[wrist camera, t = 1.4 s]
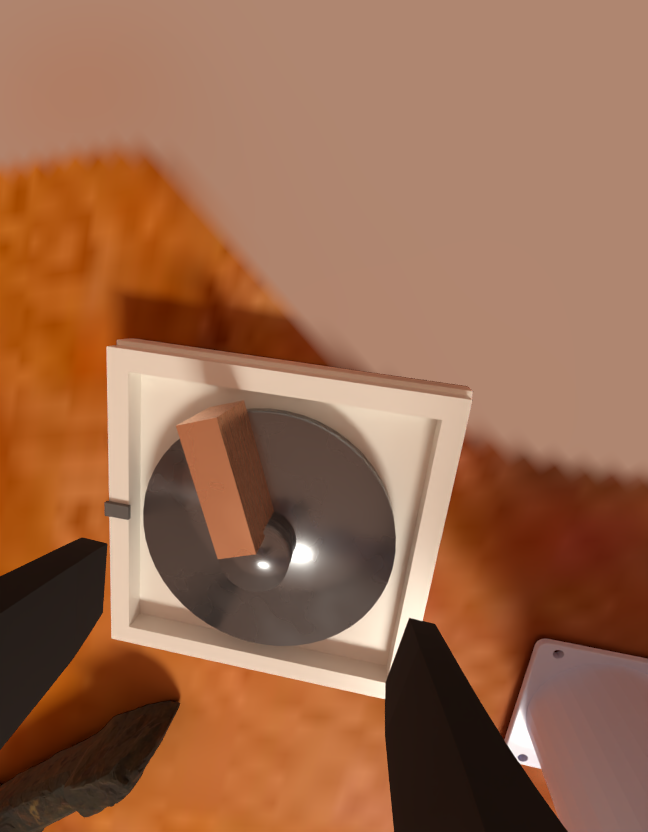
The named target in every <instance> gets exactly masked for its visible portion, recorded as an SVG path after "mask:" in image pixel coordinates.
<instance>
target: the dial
mask: <svg viewBox="0 0 648 832" xmlns="http://www.w3.org/2000/svg"><path fill="white" fill-rule="evenodd" d="M176 428H177V431H178V434H179V438H180V439H178V440H177V441H176V442H175V443H174V444H173V445H172V446H171V447H170V448H169V449H168V450H167V451H166V453H165V454H164V455H163V456H162V458H161V459H160V461H159V462H158V464H157V466H156V467H155V469H154V471H153V473H152V476H151V478H150V480H149V483H148V487H147V490H146V494H145V500H144V508H143V526H144V532H145V539H146V543H147V546H148V550H149V553H150V556H151V558H152V560H153V563H154V565H155V568H156V569H157V571H158V573H159V575H160V576H161V578H162V580H163V581H164V583H165V584H166V585H167V587H168V588H169V590H170V591H171V592H172V594H173V595H174V596H175V597H176V598H177V599H178V600H179V601H180V602H181V603H182V604H183V605H184V606H185V607H186V608H187V609H188V610H189V611H191V612H192V613H193V614H194V615H195V616H197V617H198V618H200V619H201V620H203V621H204V622H205V623H207V624H209V625H210V626H212V627H214V628H216V629H218V630H219V631H221V632H224V633H226V634H228V635H231V636H233V637H236V638H239V639H242V640H245V641H248V642H253V643H258V644H263V645H273V646H296V645H303V644H310V643H314V642H318V641H321V640H325V639H327V638H330V637H332V636H335V635H337V634H339V633H341V632H343V631H344V630H346V629H348V628H350V627H351V626H352V625H354V624H355V623H356V622H358V621H359V620H360V619H362V618H363V617H364V616H365V615H366V614H367V613H368V612H369V611H370V610H371V608H372V607H373V606H374V605H375V603H376V602H377V601H378V599H379V598H380V596H381V595H382V593H383V591H384V589H385V587H386V585H387V583H388V581H389V578H390V575H391V572H392V569H393V564H394V558H395V553H396V532H395V522H394V515H393V510H392V506H391V502H390V499H389V496H388V493H387V491H386V489H385V486H384V484H383V482H382V480H381V478H380V477H379V475H378V473H377V472H376V470H375V469H374V467H373V466H372V464H371V463H370V462H369V461H368V459H367V458H366V457H365V456H364V454H363V453H362V452H361V451H360V450H359V449H358V448H357V447H355V446H354V445H353V444H352V443H351V442H350V441H349V440H348V439H346V438H345V437H344V436H342V435H341V434H340V433H338V432H337V431H335V430H334V429H332V428H330V427H328V426H327V425H325V424H323V423H321V422H319V421H317V420H314V419H312V418H309V417H307V416H304V415H301V414H297V413H293V412H290V411H285V410H277V409H270V408H252V409H246V406H245V402H244V400H242V401H237V402H233V403H228V404H223V405H218V406H213V407H209V408H207V409H205V410H204V411H202V412H200V413H198V414H196V415H194V416H193V417H191V418H189V419H187V420H185V421H183V422H182V423H180V424H178V425H176Z"/></svg>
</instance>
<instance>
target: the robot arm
mask: <svg viewBox="0 0 648 832" xmlns="http://www.w3.org/2000/svg"><path fill="white" fill-rule="evenodd" d="M106 556H107V543H103V542H98V541H94V540H90V539H86V538H80V539H78V540H75V541H73V542H71V543H69V544H67V545H65V546H62V547H60V548H58V549H56V550H54V551H52V552H50V553H48V554H46V555H44V556H42V557H40V558H38V559H36V560H34V561H32V562H29V563H27V564H25V565H23V566H21V567H19V568H17V569H15V570H13V571H11V572H9V573H7V574H4V575H2V576H0V749H1V748H2V747H3V746H4V744H5V743H6V742H7V741H8V739H9V738H10V737H11V736H12V734H13V733H14V732H15V731H16V730H17V728H18V727H19V726H20V725H21V723H22V722H23V721H24V720H25V718H26V717H27V716H28V715H29V713H30V712H31V711H32V710H33V708H34V707H35V706H36V705H37V703H38V702H39V701H40V700H41V698H42V697H43V696H44V695H45V693H46V692H47V691H48V690H49V688H50V687H51V686H52V685H53V683H54V682H55V681H56V680H57V678H58V677H59V676H60V675H61V673H62V672H63V671H64V670H65V668H66V667H67V666H68V664H69V663H70V662H71V661H72V659H73V658H74V657H75V655H76V654H77V652H78V651H79V649H80V647H81V646H82V644H83V643H84V641H85V640H86V638H87V637H88V635H89V634H90V632H91V630H92V629H93V627H94V626H95V624H96V622H97V621H98V619H99V618H100V616H101V614H102V613H103V600H104V585H105V571H106ZM556 650H560V651H558V652H554V651H556ZM385 738H386V750H387V761H388V772H389V782H390V793H391V803H392V813H393V823H394V832H648V659H647V658H642V657H637V656H632V655H627V654H622V653H617V652H612V651H607V650H602V649H597V648H592V647H587V646H582V645H577V644H572V643H567V642H562V641H557V640H552V639H540V640H539V641H537V642H536V644H535V646H534V649H533V652H532V655H531V659H530V662H529V665H528V668H527V671H526V674H525V677H524V680H523V683H522V686H521V690H520V693H519V696H518V699H517V702H516V705H515V708H514V711H513V714H512V717H511V721H510V724H509V727H508V730H507V733H506V736H505V739H503V738H502V736H501V734H500V733H499V731H498V730H497V728H496V726H495V725H494V723H493V722H492V720H491V718H490V717H489V715H488V713H487V712H486V710H485V709H484V707H483V705H482V704H481V702H480V700H479V699H478V697H477V695H476V694H475V692H474V690H473V689H472V687H471V685H470V684H469V682H468V680H467V678H466V677H465V675H464V673H463V672H462V670H461V668H460V666H459V665H458V663H457V661H456V659H455V658H454V656H453V654H452V653H451V651H450V649H449V647H448V646H447V644H446V642H445V640H444V639H443V637H442V635H441V633H440V632H439V630H438V628H437V627H436V625H435V624H433V623H429V622H424V621H420V620H416V619H412V618H409V620H408V622H407V625H406V628H405V631H404V633H403V636H402V639H401V641H400V644H399V647H398V650H397V652H396V655H395V658H394V661H393V663H392V666H391V669H390V671H389V674H388V677H387V680H386V682H385ZM520 764H523V765H527V766H532V767H536V768H540V769H542V772H543V775H544V778H545V781H546V783H547V786H548V789H549V792H550V795H551V797H552V800H553V803H554V806H555V809H556V811H557V814H558V817H559V819H558V818H557V816H556V815H555V814H554V812H553V811H552V810H551V808H550V807H549V805H548V804H547V803H546V801H545V800H544V798H543V797H542V796H541V794H540V793H539V791H538V790H537V788H536V787H535V786H534V784H533V783H532V781H531V780H530V778H529V777H528V775H527V774H526V772H525V771H524V769H523V768H522V766H521V765H520Z"/></svg>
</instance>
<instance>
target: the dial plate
mask: <svg viewBox="0 0 648 832" xmlns="http://www.w3.org/2000/svg"><path fill="white" fill-rule="evenodd" d="M472 395H473V391H472V390H471V389H470V388H469V387H467V386H462V385H455V384H448V383H441V382H434V381H427V380H419V379H413V378H406V377H399V376H392V375H385V374H378V373H371V372H364V371H357V370H350V369H343V368H336V367H329V366H322V365H316V364H309V363H302V362H295V361H288V360H281V359H274V358H267V357H260V356H253V355H246V354H239V353H232V352H225V351H218V350H211V349H204V348H197V347H190V346H183V345H176V344H169V343H163V342H156V341H149V340H142V339H135V338H129V339H118V340H117V345H113V346H107V400H108V459H109V501H106V502H105V516H109V517H110V576H111V635H112V639H117V640H121V641H126V642H130V643H135V644H139V645H144V646H148V647H153V648H157V649H161V650H166V651H170V652H175V653H179V654H184V655H188V656H193V657H197V658H202V659H206V660H211V661H215V662H220V663H224V664H229V665H233V666H238V667H242V668H247V669H251V670H256V671H260V672H265V673H269V674H274V675H278V676H283V677H287V678H292V679H296V680H301V681H305V682H310V683H314V684H319V685H323V686H328V687H332V688H337V689H341V690H346V691H350V692H355V693H359V694H364V695H368V696H373V697H377V698H382V699H385V682H386V680H387V677H388V674H389V671H390V669H391V666H392V663H393V661H394V658H395V655H396V652H397V650H398V647H399V644H400V641H401V639H402V636H403V633H404V631H405V628H406V625H407V622H408V620H409V618H412V619H416V620H420V621H422V620H423V616H424V612H425V607H426V603H427V598H428V594H429V590H430V585H431V581H432V576H433V572H434V568H435V563H436V559H437V555H438V550H439V546H440V541H441V537H442V533H443V528H444V524H445V519H446V515H447V511H448V506H449V502H450V497H451V493H452V489H453V484H454V480H455V476H456V471H457V467H458V462H459V458H460V454H461V449H462V445H463V440H464V436H465V432H466V427H467V423H468V418H469V414H470V410H471V405H472V401H473V400H472ZM242 400H244V402H245V406H246V409H252V408H270V409H277V410H285V411H290V412H293V413H297V414H301V415H304V416H307V417H309V418H312V419H314V420H317V421H319V422H321V423H323V424H325V425H327V426H328V427H330V428H332V429H334V430H335V431H337V432H338V433H340V434H341V435H342V436H344V437H345V438H346V439H348V440H349V441H350V442H351V443H352V444H353V445H354V446H355V447H357V448H358V449H359V450H360V451H361V452H362V453H363V454H364V456H365V457H366V458H367V459H368V461H369V462H370V463H371V464H372V466H373V467H374V469H375V470H376V472H377V473H378V475H379V477H380V478H381V480H382V482H383V484H384V486H385V489H386V491H387V493H388V496H389V499H390V502H391V506H392V510H393V515H394V522H395V532H396V553H395V558H394V564H393V569H392V572H391V575H390V578H389V581H388V583H387V585H386V587H385V589H384V591H383V593H382V595H381V596H380V598H379V599H378V601H377V602H376V603H375V605H374V606H373V607H372V608H371V610H370V611H369V612H368V613H367V614H366V615H365V616H364V617H363V618H362V619H360V620H359V621H358V622H356V623H355V624H354V625H352V626H351V627H350V628H348V629H346V630H344V631H343V632H341V633H339V634H337V635H335V636H332V637H330V638H327V639H325V640H321V641H318V642H314V643H310V644H303V645H296V646H273V645H263V644H258V643H253V642H248V641H245V640H242V639H239V638H236V637H233V636H231V635H228V634H226V633H224V632H221V631H219V630H218V629H216V628H214V627H212V626H210V625H209V624H207V623H205V622H204V621H203V620H201V619H200V618H198V617H197V616H195V615H194V614H193V613H192V612H191V611H189V610H188V609H187V608H186V607H185V606H184V605H183V604H182V603H181V602H180V601H179V600H178V599H177V598H176V597H175V596H174V595H173V594H172V592H171V591H170V590H169V588H168V587H167V585H166V584H165V583H164V581H163V580H162V578H161V576H160V575H159V573H158V571H157V569H156V568H155V565H154V563H153V560H152V558H151V556H150V553H149V550H148V546H147V543H146V539H145V532H144V526H143V508H144V500H145V494H146V490H147V487H148V483H149V480H150V478H151V476H152V473H153V471H154V469H155V467H156V466H157V464H158V462H159V461H160V459H161V458H162V456H163V455H164V454H165V453H166V451H167V450H168V449H169V448H170V447H171V446H172V445H173V444H174V443H175V442H176V441H177V440H178V439H180V438H179V434H178V431H177V428H176V425H178V424H180V423H182V422H183V421H185V420H187V419H189V418H191V417H193V416H194V415H196V414H198V413H200V412H202V411H204V410H205V409H207V408H209V407H213V406H218V405H223V404H228V403H233V402H237V401H242Z"/></svg>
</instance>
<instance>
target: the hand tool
mask: <svg viewBox="0 0 648 832" xmlns="http://www.w3.org/2000/svg"><path fill="white" fill-rule="evenodd" d="M179 706H180V703H179V702H175V701H174V702H172V701H165V702H159V703H155V704H148V705H145V706H144V707H142V708H137V709H136V710H133V711H130V712H126V713H123V714H119V715H116V716H114V717H113V718H112V719H111V720H110V721H109V723H108V724H107V725H106V726H105V727H104V728H103V729H102V730H101V731H99V732H98V733H97V734H95V735H93V736H91V737H90V738H88V739H86V740H85V741H83V742H80V743H78V744H76V745H74V746H72V747H70V748H68V749H65V750H62V751H60V752H58V753H56V754H55V755H54V756H52V757H51V758H50V759H48V760H46V761H44V762H42V763H40V764H39V765H37V766H35V767H32V768H29V769H28V770H26V771H24V772H22V773H19V774H17V775H16V776H15V777H14V778H13V779H11V780H9V781H7V782H6V783H4V784H2V785H1V786H0V832H42V831H43V830H44V828H45V827H46V826H48V825H50V824H52V823H54V822H56V821H58V820H60V819H62V818H64V817H66V816H68V815H70V814H72V813H74V812H75V811H78V812H79V813H80V815H82V816H83V817H89V816H92V815H94V814H97V813H99V812H101V811H102V810H103V809H104V808H106V807H107V806H111V807H112V806H113V805H114V804H115V803H118V802H120V801H121V800H122V799H124V798H125V796H126V795H128V794H129V793H130V791H131V790H132V789H133V787H134V786H135V785H136V783H137V782H138V780H139V779H140V777H141V776H142V774H143V771H144V769H145V767H146V765H147V764H148V763H149V761H150V759H151V757H152V756H153V755H154V753H155V751H156V750H157V748H158V747H159V745H160V743H161V742H162V740H163V738H164V736H165V734H166V732H167V730H168V728H169V726H170V724H171V722H172V720H173V718H174V716H175V714H176V712H177V710H178V708H179Z"/></svg>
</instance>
